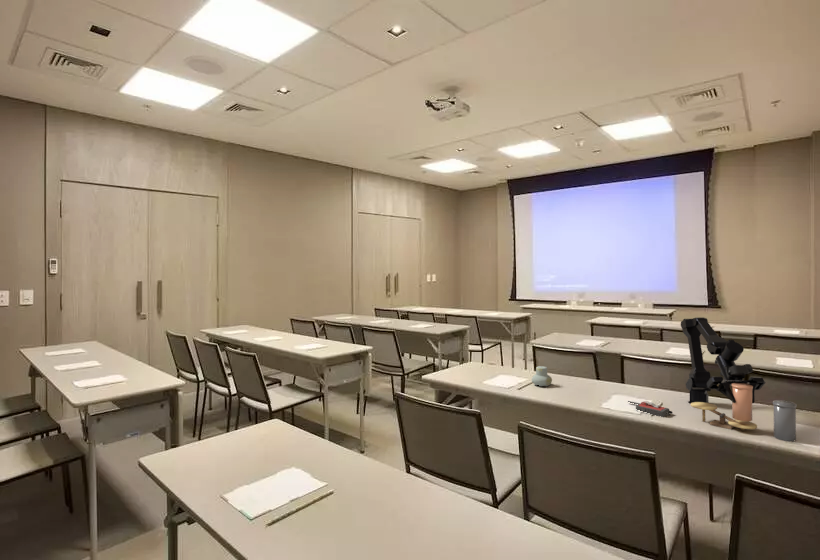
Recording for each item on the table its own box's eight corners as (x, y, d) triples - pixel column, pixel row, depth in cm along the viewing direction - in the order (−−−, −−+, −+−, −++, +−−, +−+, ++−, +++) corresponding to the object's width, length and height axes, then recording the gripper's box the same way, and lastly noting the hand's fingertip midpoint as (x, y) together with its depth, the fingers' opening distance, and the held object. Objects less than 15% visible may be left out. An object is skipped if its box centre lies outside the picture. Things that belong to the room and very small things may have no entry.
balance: (687, 421, 182) (687, 405, 182) (695, 416, 187) (695, 400, 187) (753, 436, 165) (753, 418, 165) (760, 430, 170) (760, 412, 170)
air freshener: (543, 388, 237) (543, 370, 237) (529, 386, 243) (529, 367, 243) (553, 384, 244) (553, 366, 244) (540, 382, 250) (539, 364, 250)
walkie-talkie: (675, 414, 192) (629, 404, 208) (675, 404, 192) (628, 394, 208) (665, 419, 186) (619, 408, 202) (665, 408, 186) (619, 398, 202)
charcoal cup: (771, 438, 162) (771, 403, 162) (774, 433, 167) (774, 398, 166) (795, 443, 157) (795, 407, 157) (798, 437, 162) (797, 402, 161)
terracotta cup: (727, 417, 173) (727, 384, 173) (738, 414, 175) (738, 382, 175) (745, 422, 167) (745, 388, 166) (757, 420, 169) (757, 386, 169)
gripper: (710, 356, 176) (725, 391, 165) (762, 356, 173) (781, 392, 162) (700, 371, 184) (714, 405, 173) (750, 371, 181) (767, 407, 170)
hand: (744, 402), depth 170 cm, fingers closed on terracotta cup, 6 cm apart
